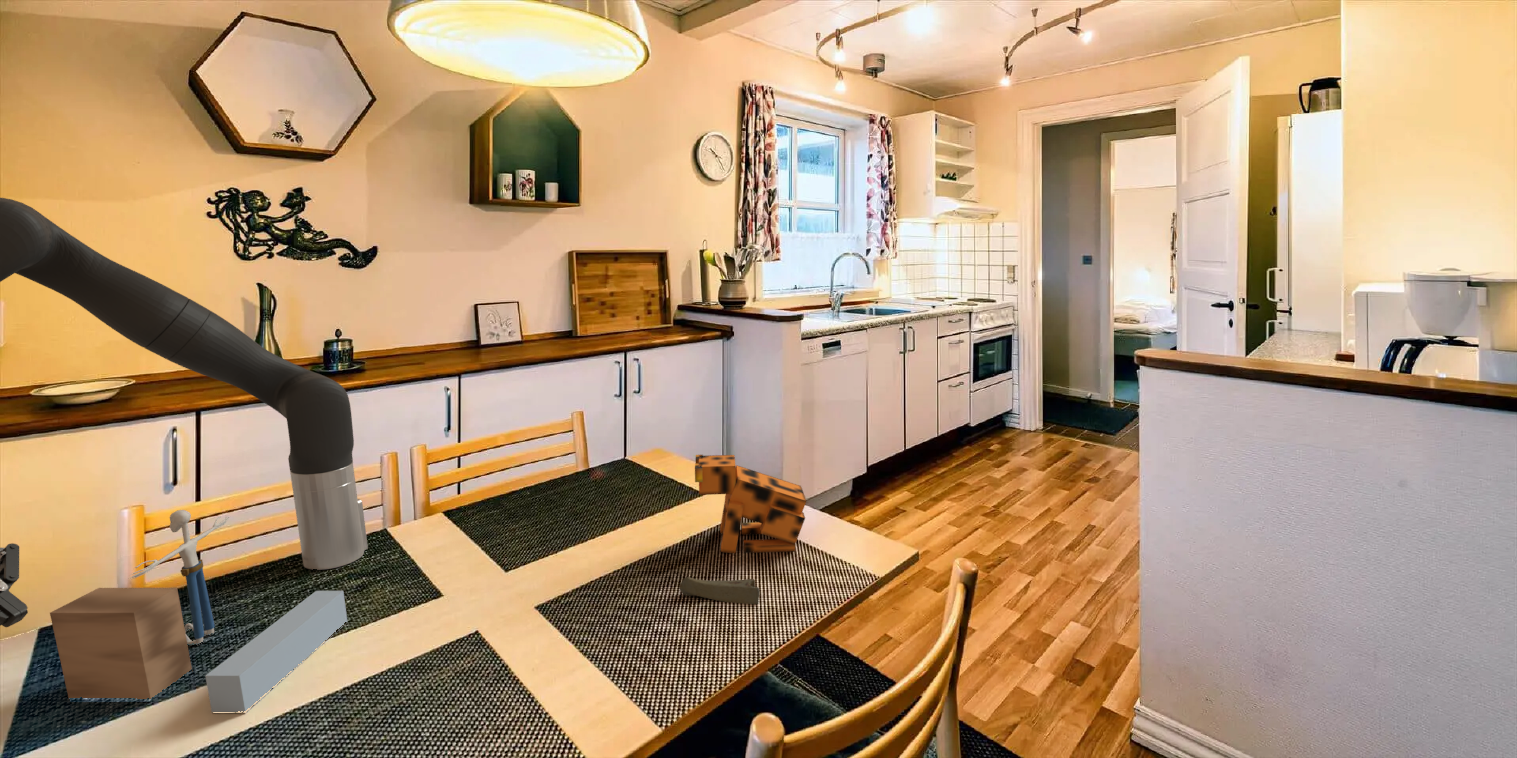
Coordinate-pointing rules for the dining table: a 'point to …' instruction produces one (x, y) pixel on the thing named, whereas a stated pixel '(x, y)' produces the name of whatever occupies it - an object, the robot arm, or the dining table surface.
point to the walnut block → (121, 642)
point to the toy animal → (752, 504)
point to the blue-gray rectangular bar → (275, 652)
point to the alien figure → (191, 575)
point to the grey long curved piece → (722, 590)
